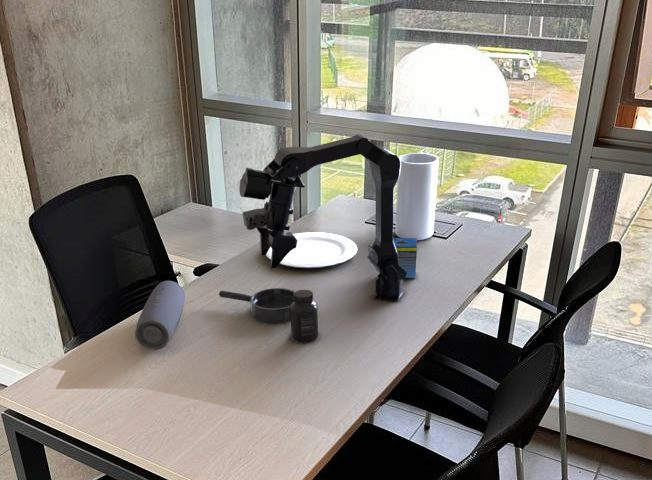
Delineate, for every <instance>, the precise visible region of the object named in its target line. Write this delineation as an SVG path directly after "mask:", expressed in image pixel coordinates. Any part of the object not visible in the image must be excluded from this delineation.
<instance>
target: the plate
mask: <svg viewBox="0 0 652 480" xmlns="http://www.w3.org/2000/svg"><path fill="white" fill-rule="evenodd" d="M292 234H293V235H294V236H295V238H296V239H297V246H296V248H295V249H294V248H293V250H291V251H290V252H289V253H288V254H287V255H286V256H285V257H284V259H283V260H282V261H281V262H280V264H279V265H281V266H284V267H290V268H296V269H318V268H319V269H320V268H321V269H322V268H327V267H332V266H337V265H340V264H343V263H345V262H347V261H350V260H351V259H353V257H354V256H355V255H356V254H357V252H358V247H357V244H356V243H355V242H354V241H353V240H352V239H349V238H347V237H346V236H342V235H340V234H336V233H328V232H315V231H314V232H312V231H311V232H309V231H308V232H299V233H292ZM271 255H272V248H271V246H270V248H269V250H268V252H267V254H266V255H265V257H266V258H267V259H268V260H270V261H271Z"/></svg>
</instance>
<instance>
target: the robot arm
mask: <svg viewBox="0 0 652 480" xmlns="http://www.w3.org/2000/svg"><path fill="white" fill-rule="evenodd" d="M359 155H361V157H363V158H365V160H367V161H368V162H369V168H370V173H371V177H372V180H373V183H374V185H375V237H374V238H375V239H374V241H373V243H372V244H367V251H368V252H367V253H368V254H367V257H366V258H367V259H368V261H369V263H370V264H371V266H373V267H374V269H375V271H377V272H378V275H377V278H376V279H375V289H374V290H375V291H374V292H375V294H376V295H375V296H374V299H377V300H384V301H391V302H399V300H400V299H401V298H402V296H403V294H404V293H405V291H404V290H403V281H404V280H405V279H406V278H405V277H406V274H407V272H406V271H405V270H404V269H402V268H401V267H400V266H399V261H398V254H397V251H396V248H395V245H394V242H393V238H394V218H395V217H394V214H395V211H394V209H395V187H396V186H397V181H398V179H399V174H400V169H401V161H400V159H399V156H398V155H396V154H395V153H393V152H391V151H389V150H388V149H386V148H381V147H378V146H377V145H376V144H374V143H373V142H372V141H370V139H369V138H368V137H365V136H364V135H362V134H360V133H359V134H355V135H353V136H350V137H346V138H343V139H338V140H334V141H330V142H326V143H321V144H318V145H314V146H307V147H303V146H288V147H287V146H286V147H282V148H280V149H278V150H277V152H276V154H275V155H274V158H273V159H272V161H270V162H269V163H268V164H267V165H266V166H265V167H264V168H263V170H260V169H254V168H252V167H245V169H244V173H243V174H242V176H241V178H240V180H239V196H240V197H241V198H246V199H247V198H248V199H253V200H262V201H264V200H266V199H268V201H265V202H264V204H263V205H264V206H263V207H261V208H254V209H250V210H245V211H243V212H242V214H241V215H242V219H243V225H244V226H245V227H246V229H247V230H248V231H252V230H254V229H256V230H257V231H258V233H259V242H260V255H261V256H262V257H266V254H267V252H268V250H269V248H270V246H271V248H272V255H271V260H270V269H271V270H276V269H277V268H278V266H279V265H281V264H280V262H281V261H282V260H283V259H284V257H285V256H286V255H287V254H288V253H289V252H290V251H291V250H293V248H294V249H295V248H296V246H297V239H296V238H295V236H294V235H293V234H294V233H292V232H291V231H290V229H291V226H290V225H289V220H290V215H294V210H293V209H292V206H293V201H294V197H295V193H296V189H297V188H301V189H304V188H305V187H306V185H305V184H304V182H303V181H302V179H301V177H300V176H301V175H304V174H305V173H308V172H310V170H312V169H313V168H314V167H316V166H320V165H323V164H324V165H325V164H327V163H331V162H335V161H339V160H344V159H347V158H351V157H355V156H359Z"/></svg>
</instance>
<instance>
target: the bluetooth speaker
mask: <svg viewBox="0 0 652 480" xmlns="http://www.w3.org/2000/svg"><path fill="white" fill-rule="evenodd" d="M185 302H186V293H185V290H184V289H183V287H182V286H181V285H180V284H179V283H178V282H176V281H173V280H163V281H160V282H159V283H158V284H157V285H156V286H155V288H154V289H153V290H152V292H151V293H150V295H149V296H148V298H147V300H146V302H145V303H144V306H143V308H142V310H141V313H140V315H139V318H138V320H137V322H136V326H135V330H134V337H135V339H136V342H137V343H138V344H139V345H140V346H141V347H142V348H144V349H147V350H151V351H157V350H161V349H162V350H163V348H165V347H166V346H167V344H168V343H169V342H170V340H171V339H172V337H173V335H174V333H175V330H176V329H177V327H178V325H179V323H180V320H181V317H182V313H183V310H184V305H185Z"/></svg>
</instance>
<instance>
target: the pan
mask: <svg viewBox="0 0 652 480" xmlns="http://www.w3.org/2000/svg"><path fill="white" fill-rule="evenodd" d="M294 292H296V291H295V290H292V289H290V288H282V287H272V288H265V289H261V290H258V291H256V292H254V293H253V294H252V295H253V296H252V297H251V300H250V302H249V303H250V312H251V315H252V316H253V317H254V319H256V320H257V321H259V322H263V323H267V324H282V323H286V322H289V321H290V322H291V320H290V306H291V304H292V303H293V302H294V301H293V294H294Z"/></svg>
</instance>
